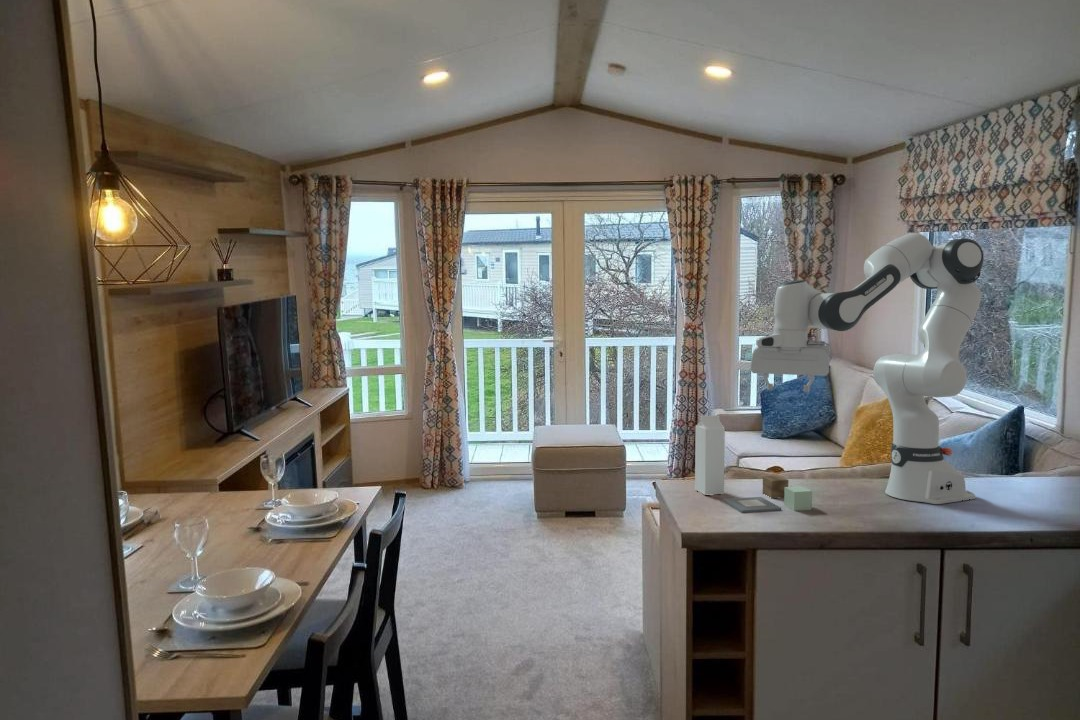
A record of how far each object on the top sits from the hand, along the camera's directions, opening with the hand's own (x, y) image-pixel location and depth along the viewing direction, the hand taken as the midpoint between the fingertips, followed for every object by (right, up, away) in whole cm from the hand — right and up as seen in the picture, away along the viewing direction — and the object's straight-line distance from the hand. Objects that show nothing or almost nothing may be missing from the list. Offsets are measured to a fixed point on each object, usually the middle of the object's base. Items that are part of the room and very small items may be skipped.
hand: (788, 391), depth 197 cm
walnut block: (-2, -29, +4) cm, 30 cm away
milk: (-20, -29, +8) cm, 36 cm away
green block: (0, -30, -7) cm, 31 cm away
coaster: (-11, -30, -5) cm, 33 cm away
